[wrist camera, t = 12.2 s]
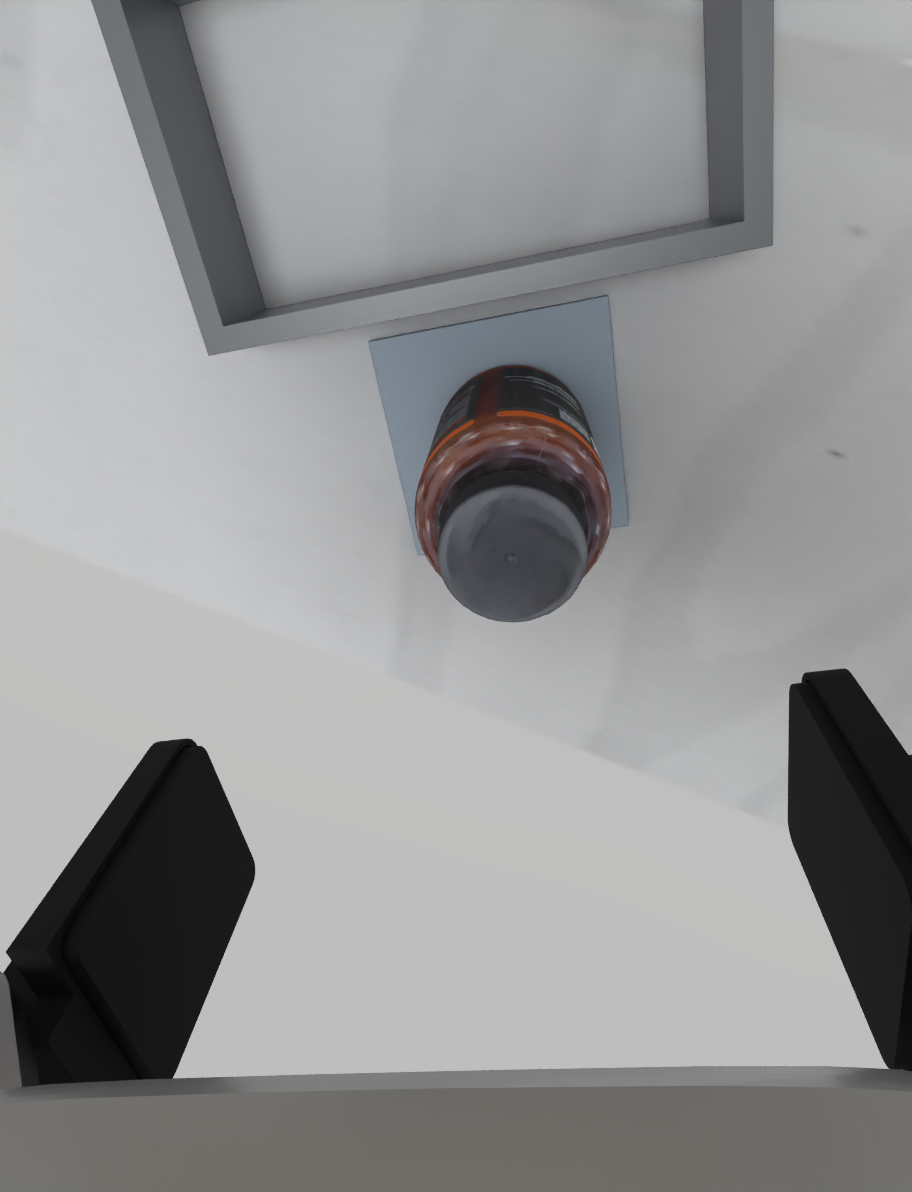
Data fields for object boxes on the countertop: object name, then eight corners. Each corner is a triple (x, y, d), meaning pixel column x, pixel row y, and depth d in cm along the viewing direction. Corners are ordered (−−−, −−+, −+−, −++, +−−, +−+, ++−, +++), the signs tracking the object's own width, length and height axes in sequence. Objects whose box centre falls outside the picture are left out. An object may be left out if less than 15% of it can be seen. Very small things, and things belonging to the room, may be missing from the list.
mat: (627, 521, 31) (628, 525, 30) (419, 552, 32) (418, 555, 32) (606, 295, 27) (607, 296, 26) (370, 340, 28) (368, 342, 28)
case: (734, 239, 26) (772, 245, 22) (242, 337, 29) (197, 358, 25) (727, -186, 21) (774, -278, 17) (134, -16, 24) (56, -61, 20)
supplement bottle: (429, 496, 31) (384, 635, 21) (449, 349, 28) (408, 428, 18) (571, 520, 31) (594, 670, 21) (605, 375, 28) (652, 468, 18)
